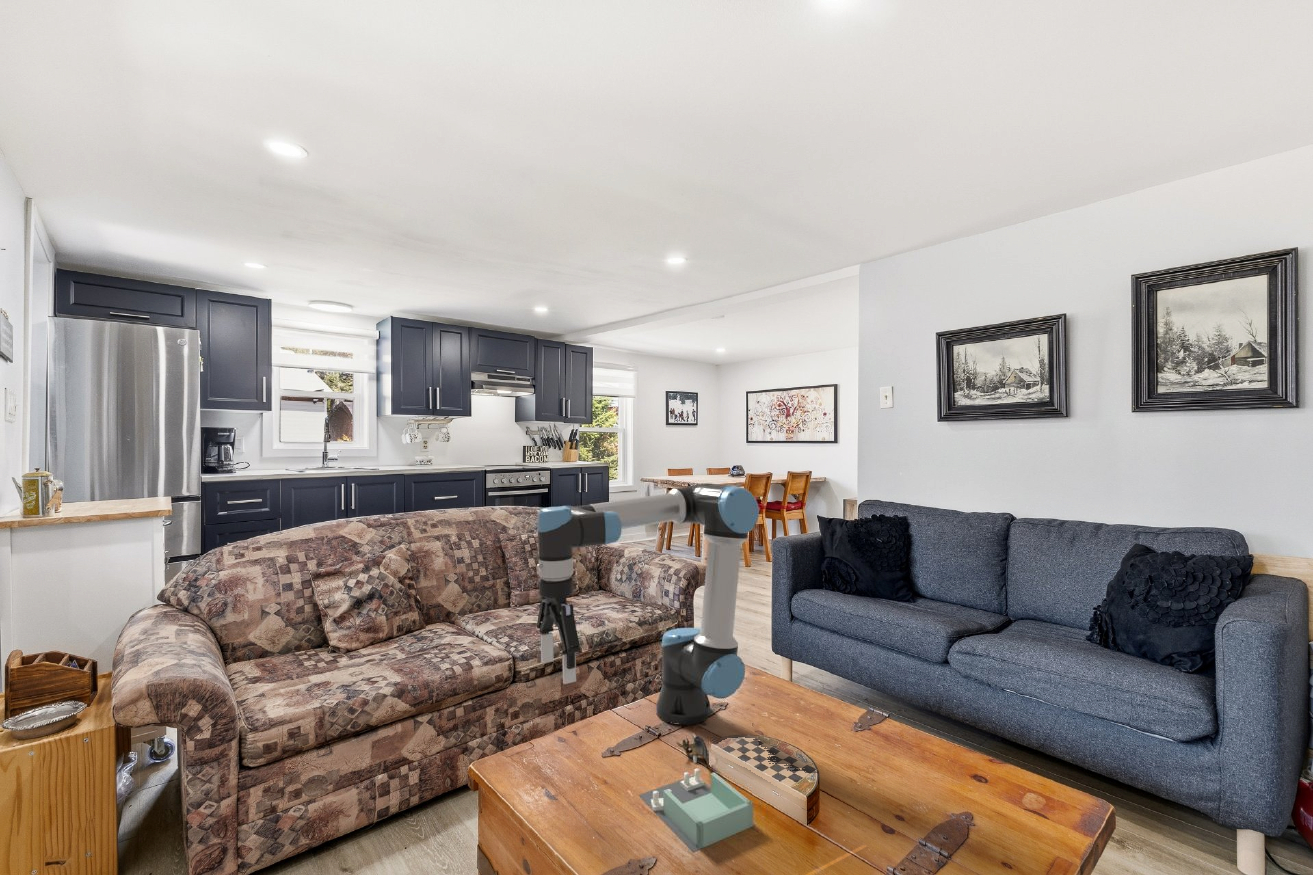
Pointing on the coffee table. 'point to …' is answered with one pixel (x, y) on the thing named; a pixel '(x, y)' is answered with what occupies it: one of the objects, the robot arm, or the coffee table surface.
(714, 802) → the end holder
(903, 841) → the coffee table surface
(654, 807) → the clips
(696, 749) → the eagle figurine
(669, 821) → the mat
